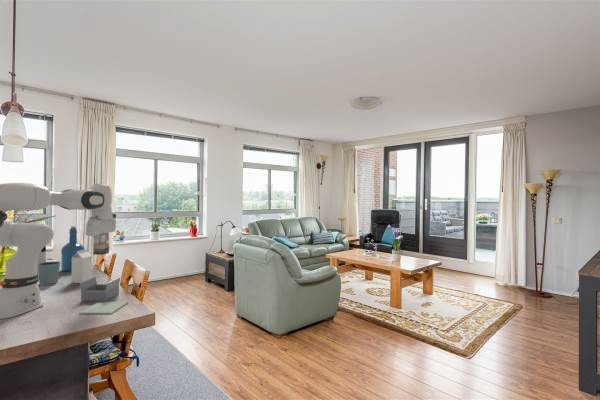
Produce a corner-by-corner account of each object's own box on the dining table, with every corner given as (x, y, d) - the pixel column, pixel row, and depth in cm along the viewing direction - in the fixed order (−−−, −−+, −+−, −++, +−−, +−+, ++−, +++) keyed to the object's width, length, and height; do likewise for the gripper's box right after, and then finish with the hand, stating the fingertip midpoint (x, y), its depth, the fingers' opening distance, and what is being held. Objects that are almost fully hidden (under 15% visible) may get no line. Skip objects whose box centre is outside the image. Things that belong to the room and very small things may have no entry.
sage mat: (111, 314, 140) (111, 312, 140) (79, 313, 140) (79, 312, 140) (127, 303, 154) (127, 302, 154) (98, 303, 154) (98, 301, 154)
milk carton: (91, 280, 193) (91, 249, 193) (82, 283, 186) (82, 251, 186) (80, 279, 194) (81, 248, 194) (71, 283, 187) (71, 250, 187)
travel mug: (44, 276, 201) (44, 244, 200) (47, 278, 196) (47, 246, 196) (31, 278, 196) (31, 246, 196) (34, 280, 192) (34, 247, 191)
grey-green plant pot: (33, 285, 180) (33, 264, 180) (46, 281, 191) (47, 261, 190) (51, 285, 181) (51, 264, 181) (64, 281, 191) (64, 261, 191)
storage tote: (107, 301, 157) (107, 283, 157) (79, 301, 156) (79, 282, 156) (120, 293, 169) (120, 276, 169) (94, 293, 168) (94, 276, 168)
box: (103, 254, 160) (103, 234, 160) (93, 254, 159) (93, 234, 159) (109, 252, 165) (109, 233, 165) (99, 252, 164) (99, 233, 164)
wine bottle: (88, 269, 221) (88, 226, 221) (66, 273, 210) (66, 227, 210) (78, 266, 229) (79, 225, 228) (57, 270, 217) (57, 226, 217)
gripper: (95, 217, 152) (95, 245, 152) (118, 214, 172) (118, 240, 172) (81, 216, 151) (81, 245, 151) (106, 214, 172) (106, 239, 172)
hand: (101, 242), depth 162 cm, fingers closed on box, 5 cm apart
